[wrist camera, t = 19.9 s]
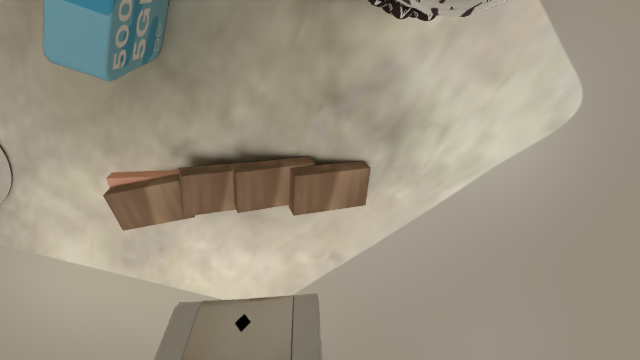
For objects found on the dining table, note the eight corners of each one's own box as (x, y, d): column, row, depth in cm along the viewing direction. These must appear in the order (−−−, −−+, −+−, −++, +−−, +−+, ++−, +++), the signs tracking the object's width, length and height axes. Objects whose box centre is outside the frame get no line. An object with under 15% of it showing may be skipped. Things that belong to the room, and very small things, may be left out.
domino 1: (196, 202, 48) (125, 205, 48) (188, 167, 46) (114, 170, 46) (191, 211, 47) (118, 214, 47) (183, 175, 44) (106, 178, 44)
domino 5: (358, 196, 48) (288, 206, 45) (362, 160, 45) (289, 168, 42) (365, 205, 46) (293, 215, 43) (370, 168, 44) (295, 176, 41)
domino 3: (257, 197, 47) (181, 207, 44) (259, 161, 45) (178, 168, 41) (262, 205, 46) (183, 216, 42) (264, 168, 43) (181, 176, 40)
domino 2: (199, 207, 46) (130, 220, 47) (183, 172, 44) (111, 186, 45) (194, 217, 45) (123, 230, 45) (178, 180, 42) (103, 195, 43)
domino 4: (307, 192, 47) (234, 203, 44) (308, 156, 45) (232, 164, 42) (312, 200, 46) (237, 212, 42) (315, 163, 43) (235, 172, 40)
